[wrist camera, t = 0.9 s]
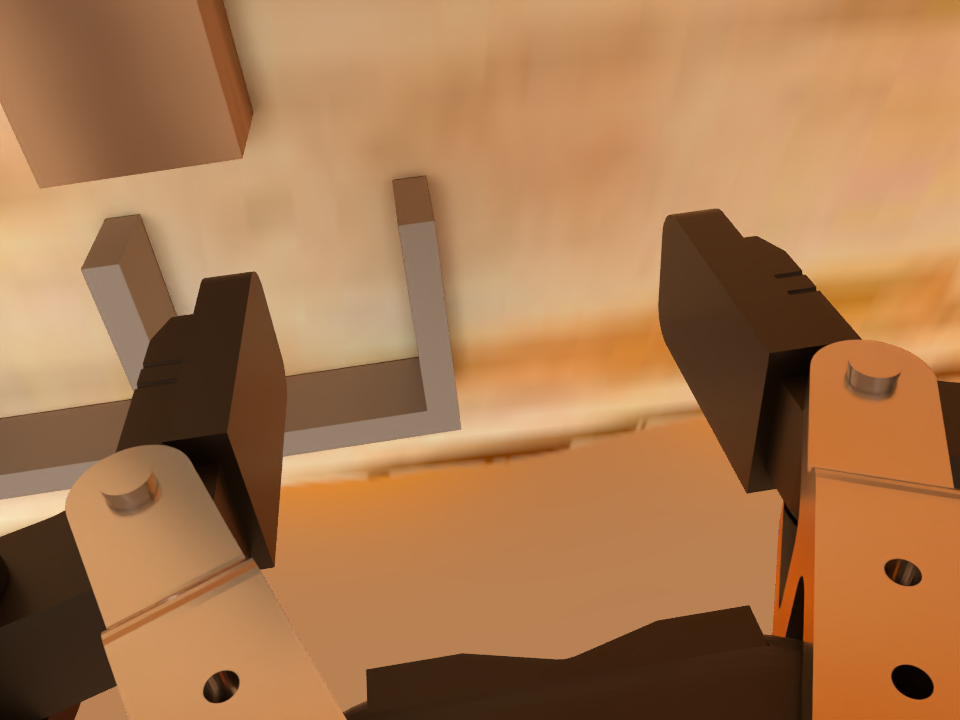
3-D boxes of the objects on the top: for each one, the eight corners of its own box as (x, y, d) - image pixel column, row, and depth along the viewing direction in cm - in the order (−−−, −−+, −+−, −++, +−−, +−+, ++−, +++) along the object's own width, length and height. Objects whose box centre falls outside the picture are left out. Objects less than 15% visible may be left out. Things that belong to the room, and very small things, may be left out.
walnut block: (199, -88, 25) (178, -62, 21) (253, 110, 28) (242, 158, 25) (-8, -60, 24) (-60, -29, 21) (74, 136, 28) (40, 188, 25)
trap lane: (446, -220, 23) (460, -213, 21) (498, 368, 36) (511, 421, 33) (-624, -105, 22) (-764, -80, 19) (-177, 468, 34) (-223, 533, 32)
